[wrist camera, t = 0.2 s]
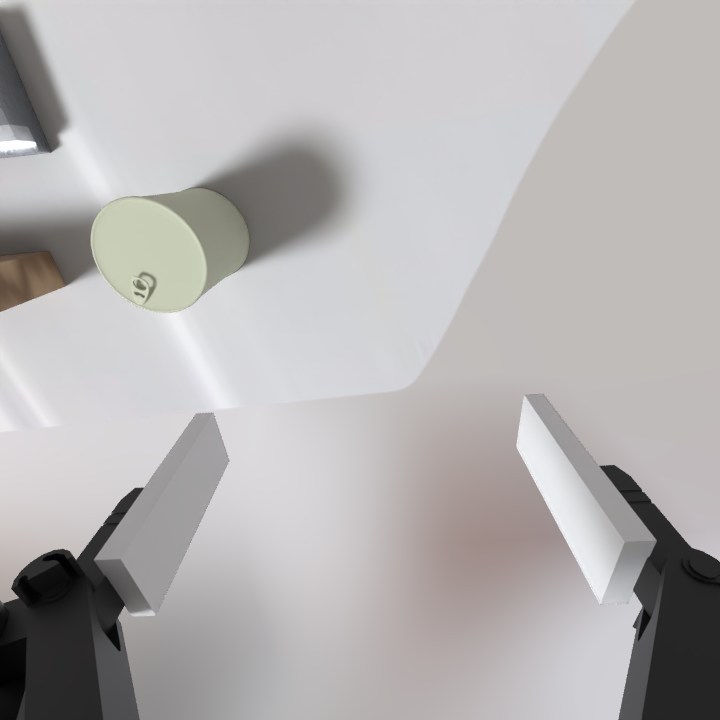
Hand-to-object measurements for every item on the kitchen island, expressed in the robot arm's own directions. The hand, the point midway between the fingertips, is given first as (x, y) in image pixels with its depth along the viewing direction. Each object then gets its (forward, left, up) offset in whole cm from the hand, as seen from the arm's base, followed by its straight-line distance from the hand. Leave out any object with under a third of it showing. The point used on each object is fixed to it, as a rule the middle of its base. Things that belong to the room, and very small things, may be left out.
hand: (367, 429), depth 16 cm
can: (-5, -17, -28) cm, 33 cm away
